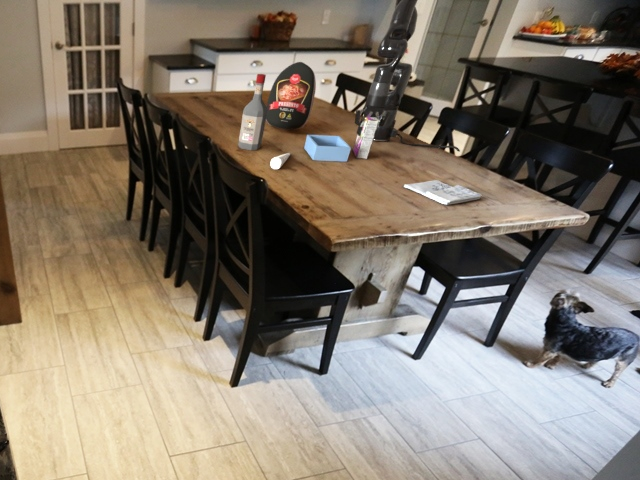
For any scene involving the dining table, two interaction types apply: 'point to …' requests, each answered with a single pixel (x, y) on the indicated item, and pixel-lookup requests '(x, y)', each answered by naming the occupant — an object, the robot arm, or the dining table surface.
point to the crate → (327, 148)
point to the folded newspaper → (444, 192)
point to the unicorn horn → (279, 161)
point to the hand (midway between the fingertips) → (365, 135)
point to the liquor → (254, 119)
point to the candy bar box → (365, 138)
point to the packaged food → (291, 97)
